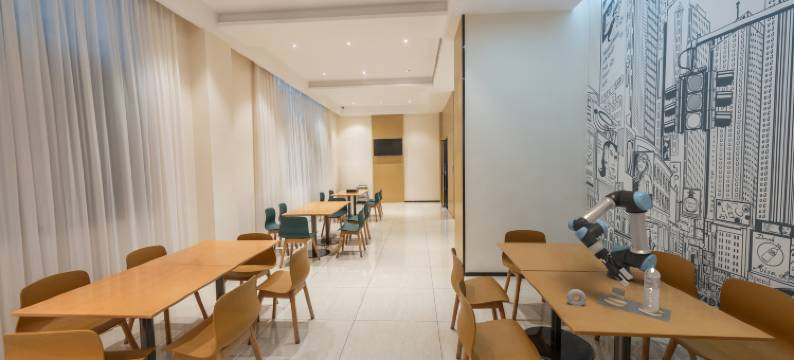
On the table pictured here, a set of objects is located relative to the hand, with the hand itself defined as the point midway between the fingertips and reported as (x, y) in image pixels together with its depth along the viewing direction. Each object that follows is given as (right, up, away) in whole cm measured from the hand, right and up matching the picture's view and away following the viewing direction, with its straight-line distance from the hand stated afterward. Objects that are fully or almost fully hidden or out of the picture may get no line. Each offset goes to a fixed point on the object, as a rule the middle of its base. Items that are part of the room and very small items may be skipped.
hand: (628, 282), depth 177 cm
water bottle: (+7, -14, -6) cm, 17 cm away
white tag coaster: (-3, -14, +6) cm, 15 cm away
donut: (-28, -15, +3) cm, 32 cm away
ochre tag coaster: (+9, -14, -5) cm, 17 cm away
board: (+2, -15, 0) cm, 15 cm away
